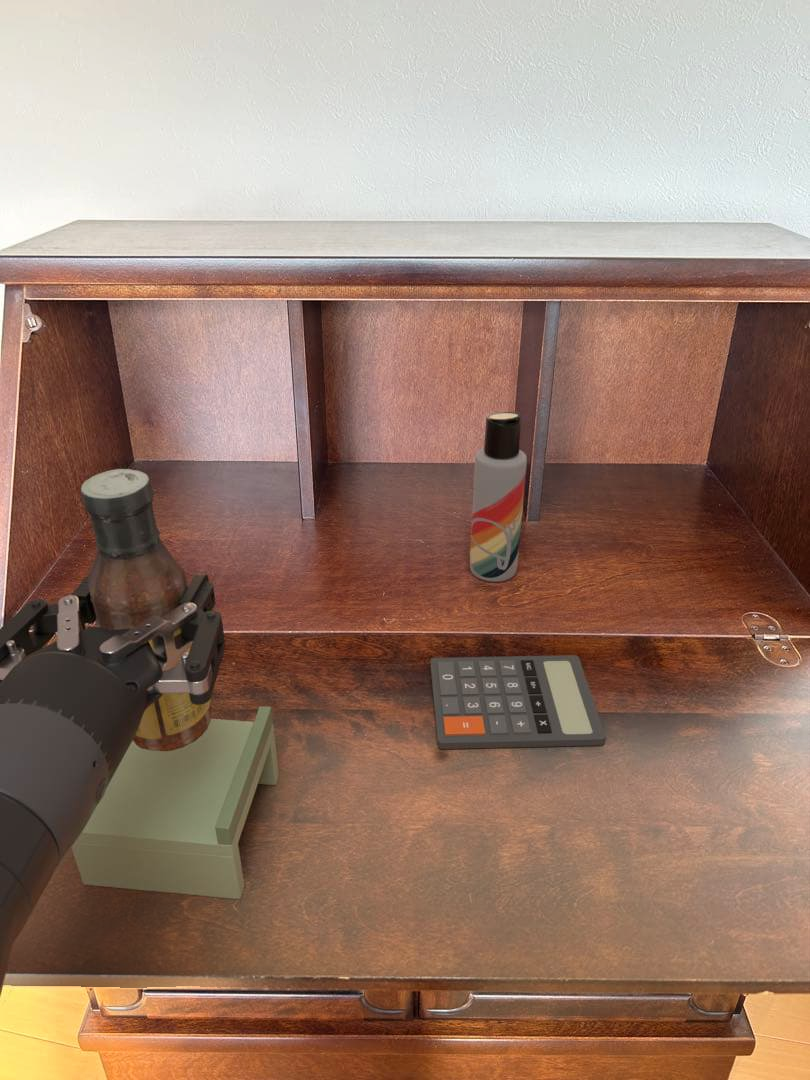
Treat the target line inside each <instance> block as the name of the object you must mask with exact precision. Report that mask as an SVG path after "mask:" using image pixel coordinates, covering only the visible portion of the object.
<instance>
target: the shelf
mask: <svg viewBox="0 0 810 1080" xmlns="http://www.w3.org/2000/svg"><path fill="white" fill-rule="evenodd" d="M276 745H277V744H276V735H275V727H274V719H273V710H272V707H271V706H259V707H258V709H257V712H256V715H255V718H254V721H245V720H234V719H221V718H211V722H210V724H209V726H208V728H207V730H206V731H205V732H204V733H203V735H202V736H200V737H199V738H198V739H197V740H196V741H195V742H192V743H190V744H188V745H187V746H184V747H183V748H179V749H176V750H173V751H153V750H147V749H141V748H140V747H138V746H137V745H136V744H135V742H134V741H132V742H131V744H130V746H129V748H128V750H127V751H126V753H125V755H124V757H123V759H122V761H121V762H120V764H119V766H118V768H117V770H116V772H115V773H114V775H113V777H112V779H111V781H110V783H109V784H108V786H107V788H106V791H105V794H104V796H103V798H102V799H101V801H100V802H99V804H98V805H97V806H96V808H95V810H94V812H93V814H92V816H91V817H90V819H89V821H88V823H87V825H86V826H85V828H84V830H83V831H82V833H81V834H80V836H79V837H78V838H77V840H76V841H75V843H74V844H73V845H72V847H71V848H70V849H71V851H72V854H73V856H74V857H73V858H74V860H75V863H76V866H77V869H78V873H79V875H80V879H81V881H82V885H85V886H92V887H93V886H94V887H105V888H114V889H115V888H116V889H126V890H137V891H145V892H146V891H147V892H148V891H149V892H158V893H169V894H179V895H190V896H199V897H211V898H221V899H222V898H223V899H230V900H231V899H233V900H241V899H242V896H243V893H244V890H245V887H246V886H245V885H246V884H245V880H244V879H245V878H244V873H243V872H244V871H243V866H242V861H241V853H240V847H239V841H240V838H241V835H242V832H243V830H244V826H245V824H246V821H247V818H248V814H249V811H250V808H251V806H252V802H253V800H254V796H255V793H256V790H257V788H258V785H267V786H276V785H277V783H278V779H279V776H280V772H279V763H278V753H277V746H276Z"/></svg>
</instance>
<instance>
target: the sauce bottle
mask: <svg viewBox="0 0 810 1080" xmlns="http://www.w3.org/2000/svg"><path fill="white" fill-rule="evenodd" d="M80 495H81V498H82V499H81V500H82V504H83V507H84V510H85V511H86V512H87V513H88V514H89V517H90V521H91V525H92V530H93V533H94V536H95V547H96V549H97V552H96V554H95V557H94V559H93V561H92V564H91V566H90V569H89V571H88V572H87V576H88V579H87V581H88V586H89V591H90V596H91V601H92V603H93V607H94V611H95V615H96V620H95V624H96V627H101V628H105V629H109V630H120V629H132V628H134V627H135V626H137V625H138V624H140V623H141V622H143V621H145V620H146V619H148V618H149V617H151V616H153V615H157V616H159V617H162V616H164V615H166V614H167V613H169V612H170V611H172V610H173V609H175V608H176V607H178V606H179V601H180V599H181V598H182V596H183V594H184V593H185V591H186V589H187V588H188V583H187V579H186V578H187V577H186V573H185V569H184V568H183V567H182V565H180V564H179V563H178V562H177V560H176V559H175V557H174V556H173V555H172V553H171V552H170V551H169V550H168V548H167V546H166V545H165V544H164V542H163V541H162V540H161V538H160V530H159V528H158V526H157V522H156V521H157V520H156V518H155V512H154V507H153V499H154V489H153V487H152V483H151V479H150V476H148V474H147V473H145V472H142V471H141V470H135V469H130V468H129V469H128V468H116V469H110V470H106V471H104V472H101V473H98V474H95V475H93V476H91V477H90V478H88V479H86V480H84V482H83V483H82V485H81V486H80ZM179 633H181V631H180V627H179V628H178V629H176V630H175V632H174V637H175V636H176V635H178V634H179ZM149 643H150V645H151V647H152V650H153V652H154V648H153V643H152V639H151V640H150V641H149ZM189 651H190V648H189V649H188V650H186V651H185V652H187V653H189ZM180 660H181V655H180V656H179V658H178V661H177V663H178V662H179V661H180ZM177 663H176V664H177ZM175 666H176V665H175ZM175 666H174V667H175ZM174 667H173V668H174ZM171 669H172V668H171ZM211 701H212V698H211V699H210V700H209V701H208V702H207V703H205V704H202V705H195V704H193V703H191V701H190V697H189V693H163V695H162V696H161V697H160V699H158V700H157V701H156V702H154V703H153V704H152V705H150V706H149V707H148V708H147V709H146V710H145V712H144V714H143V716H142V719H141V722H140V725H139V728H138V730H137V733H136V735H135V737H134V739H133V741H134V742H135V744H136V745H137V746H138V747H140V748H141V749H147V750H153V751H173V750H176V749H179V748H183V747H184V746H187V745H188V744H190V743H192V742H195V741H196V740H197V739H198V738H199V737H200V736H202V735H203V733H204V732H205V731H206V730H207V728H208V726H209V724H210V722H211V719H212V714H213V709H212V703H211Z"/></svg>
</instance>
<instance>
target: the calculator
mask: <svg viewBox="0 0 810 1080" xmlns="http://www.w3.org/2000/svg"><path fill="white" fill-rule="evenodd" d="M429 660H430V661H429V668H430V679H431V688H432V689H431V690H432V700H433V701H432V702H433V713H434V721H435V722H434V724H435V731H436V732H435V734H436V744H437V748H438V749H440V750H458V749H461V750H462V749H500V748H501V749H502V748H503V749H504V748H507V749H508V748H542V747H544V748H545V747H547V748H548V747H580V746H581V747H586V746H588V747H589V746H592V747H593V746H604V745H605V743H606V739H607V738H606V733H605V729H604V727H603V724H602V721H601V718H600V716H599V713H598V709H597V707H596V704H595V700H594V698H593V695H592V691H591V689H590V685H589V683H588V680H587V677H586V675H585V671H584V667H583V666H582V662H581V660H580V657H579V656H578V655H576V654H566V655H562V654H561V655H517V656H515V655H513V656H469V657H468V656H467V657H466V656H465V657H463V656H462V657H460V656H459V657H431V659H429Z"/></svg>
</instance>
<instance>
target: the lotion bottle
mask: <svg viewBox="0 0 810 1080" xmlns="http://www.w3.org/2000/svg"><path fill="white" fill-rule="evenodd" d="M522 419H523V418H522V415H521V414H520V413H519V412H516V411H501V412H495V413H490V414H487V415H486V416H485V429H484V441H483V442H484V443H483V447H482V448H480V449H479V450H477V452H476V453H475V457H474V458H475V459H474V470H473V471H474V473H473V490H472V492H473V493H472V511H471V529H470V545H469V546H470V547H469V548H470V549H469V570H470V572H471V574H472V575H473V576H474V577H475V578H477V579H479V580H481V581H484V582H488V583H502V582H506V581H509V580H511V579H512V578H514V576H515V575H516V574H517V569H518V564H519V563H518V562H519V553H520V542H521V531H522V519H523V509H524V508H523V507H524V499H525V487H526V478H527V477H526V476H527V465H528V464H527V463H528V459H527V458H528V457H527V455H526V453H525V452H524V451H523V450H521V449H520V447H521V434H522V433H521V432H522V422H523V421H522Z"/></svg>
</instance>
